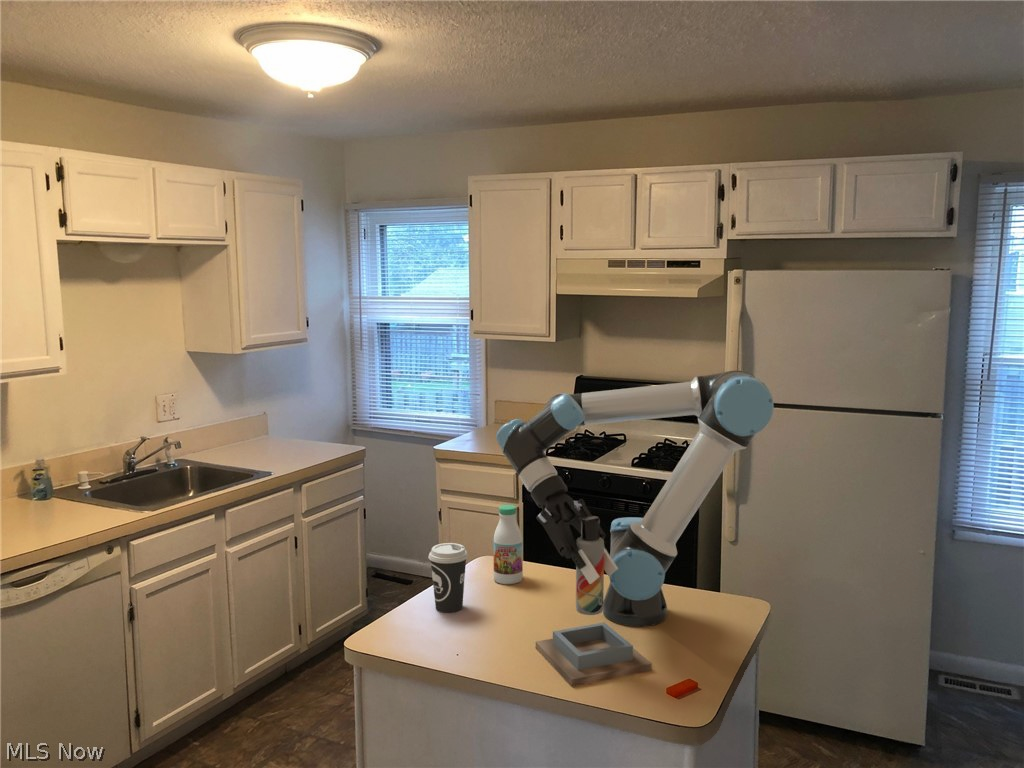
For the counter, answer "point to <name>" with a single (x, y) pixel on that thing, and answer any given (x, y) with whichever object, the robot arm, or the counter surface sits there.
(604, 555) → the robot arm
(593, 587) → the lotion bottle
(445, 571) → the coffee cup
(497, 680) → the counter surface
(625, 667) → the stand board
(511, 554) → the milk bottle
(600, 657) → the bottle collar
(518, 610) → the counter surface
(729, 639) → the counter surface
